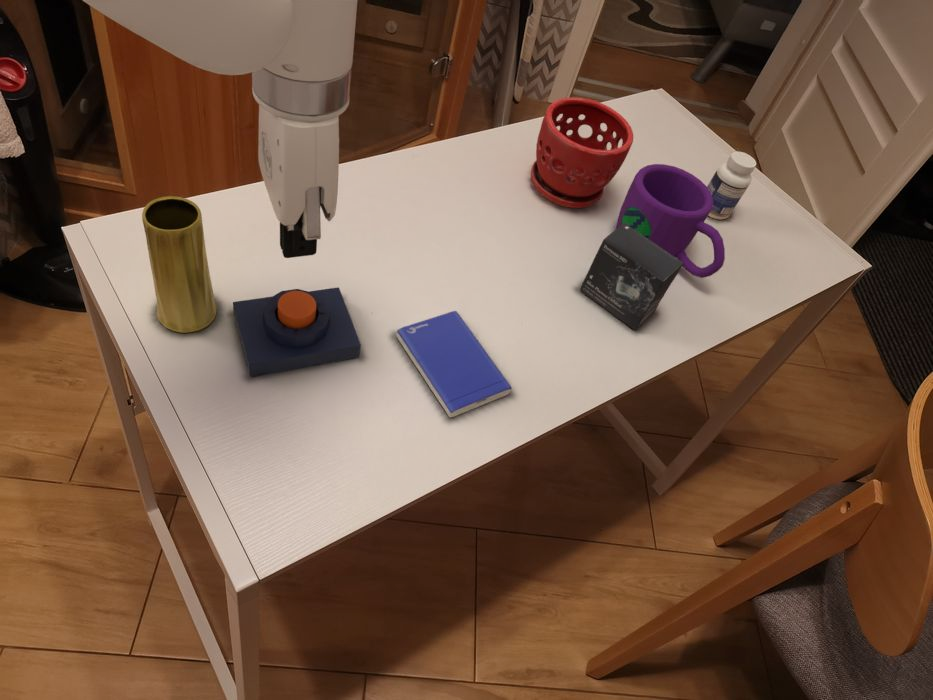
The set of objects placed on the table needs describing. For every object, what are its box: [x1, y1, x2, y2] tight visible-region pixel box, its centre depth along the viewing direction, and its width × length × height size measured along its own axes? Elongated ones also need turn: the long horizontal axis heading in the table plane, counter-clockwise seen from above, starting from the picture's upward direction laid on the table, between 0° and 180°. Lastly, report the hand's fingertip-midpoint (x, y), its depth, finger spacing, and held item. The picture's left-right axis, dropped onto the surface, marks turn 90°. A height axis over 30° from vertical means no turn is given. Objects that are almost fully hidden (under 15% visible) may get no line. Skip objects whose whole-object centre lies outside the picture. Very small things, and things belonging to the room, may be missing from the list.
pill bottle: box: [706, 150, 757, 220], centre depth 107 cm, size 5×5×10 cm
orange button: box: [278, 291, 316, 329], centre depth 74 cm, size 4×4×2 cm
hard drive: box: [395, 310, 513, 418], centre depth 78 cm, size 2×8×12 cm
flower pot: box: [530, 97, 634, 209], centre depth 101 cm, size 13×13×12 cm
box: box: [579, 223, 684, 331], centre depth 88 cm, size 9×6×10 cm, turn 49°
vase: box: [141, 195, 217, 334], centre depth 71 cm, size 6×6×14 cm
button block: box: [232, 287, 361, 378], centre depth 75 cm, size 12×9×4 cm
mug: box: [615, 163, 726, 279], centre depth 96 cm, size 17×11×10 cm, turn 35°
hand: (298, 250), depth 67 cm, fingers closed
